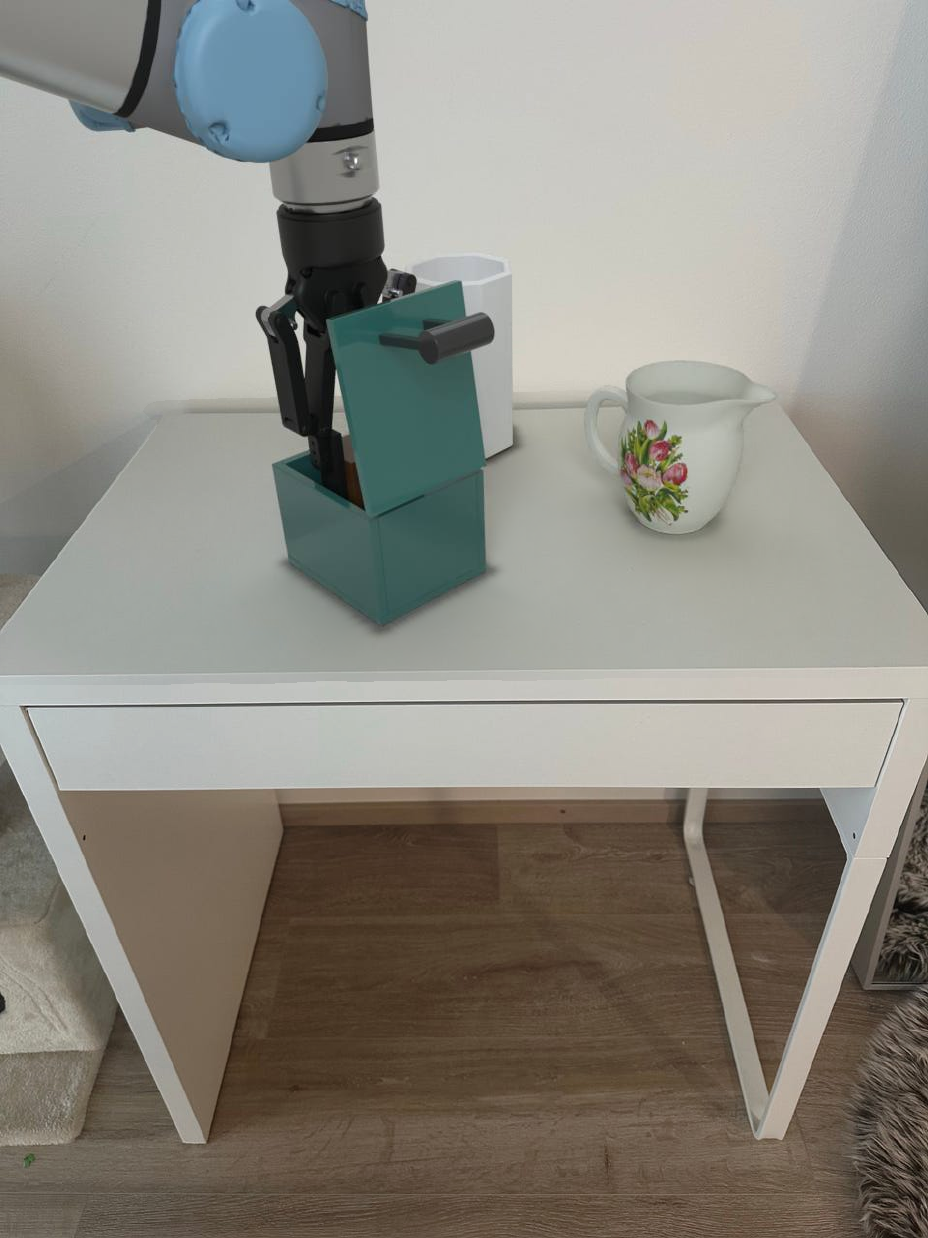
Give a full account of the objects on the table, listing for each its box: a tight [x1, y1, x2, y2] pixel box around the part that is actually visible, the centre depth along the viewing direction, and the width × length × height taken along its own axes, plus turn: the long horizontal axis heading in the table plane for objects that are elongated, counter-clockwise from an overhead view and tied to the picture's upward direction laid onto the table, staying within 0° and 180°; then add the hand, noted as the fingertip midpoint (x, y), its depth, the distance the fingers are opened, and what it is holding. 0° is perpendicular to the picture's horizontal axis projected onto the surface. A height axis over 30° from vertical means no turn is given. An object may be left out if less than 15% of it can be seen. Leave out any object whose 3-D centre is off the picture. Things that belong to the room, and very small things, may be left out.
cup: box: [404, 251, 514, 460], centre depth 97 cm, size 11×11×18 cm
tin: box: [271, 433, 487, 627], centre depth 80 cm, size 14×12×10 cm
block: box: [342, 434, 365, 509], centre depth 79 cm, size 4×4×4 cm
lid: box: [326, 280, 495, 517], centre depth 67 cm, size 14×12×8 cm
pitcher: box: [583, 359, 779, 535], centre depth 84 cm, size 11×18×14 cm, turn 51°
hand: (361, 489), depth 80 cm, fingers closed on block, 4 cm apart
